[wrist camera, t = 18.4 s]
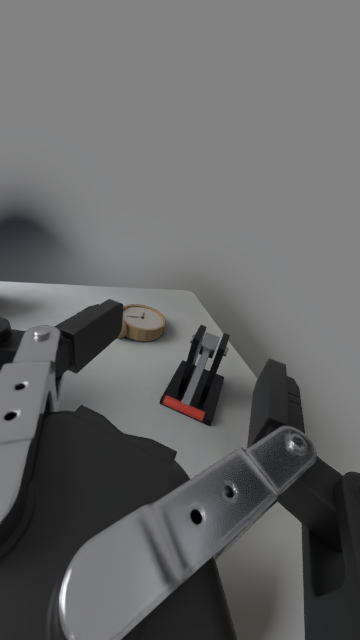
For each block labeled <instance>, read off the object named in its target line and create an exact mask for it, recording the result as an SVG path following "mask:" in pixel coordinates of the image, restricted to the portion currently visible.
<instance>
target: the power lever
mask: <svg viewBox="0 0 360 640" xmlns="http://www.w3.org/2000/svg"><path fill="white" fill-rule="evenodd" d="M219 338H220V337H218V336H215V335H212V334H210V333H206V335H205V337H204V340H203V342H202V344H201V348H200V352H199V354H201V357H200V359H199V362H198V364H197V366H196V369H195V371H194V373H193V376H192V378H191V381H190V383H189V385H188V388H187V390H186V392H185V395H184V397H183V400H182V402H181V401H179V400H177V399H174V398H172V397H170V396H168V395H166V397H165V399H164V401H163V404H164V405H166V406H169V407H171V408H173V409H175V410H178V411H180V412H182V413H184V414H186V415H189V416H191V417H193V418H195V419H198V420H200V421H202V420H203V418H204V415H205V412H204V411H202V410H199V409H197V408H195V407H192V406H190V403H191V400H192V398H193V395H194V393H195V390H196V388H197V385H198V383H199V380H200V377H201V375H202V372H203V370H204V367H205V365H206V362H207V360H208V357H209V358H212V357H213V354H214V352H215V349H216V346H217V343H218V341H219Z"/></svg>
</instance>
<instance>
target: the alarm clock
mask: <svg viewBox="0 0 360 640" xmlns="http://www.w3.org/2000/svg"><path fill="white" fill-rule="evenodd" d="M165 322H166V321H165V317H164V316H163V315H162V314H161V313H160V312H159V311H157V310H155V309H153V308H151V307H148V306H145V305H139V304H132V305H126V306H124V307H123V321H122V330H121V332H120V334H119V336H118V338H123V337H125V336H126V337H128V338H131V339H134V340H138V341H152V340H155V339H158V338H159V337H160V336H161V335H162V332H166V333H167V330H165V329H163V328H164V325H165Z"/></svg>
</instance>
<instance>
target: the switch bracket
mask: <svg viewBox="0 0 360 640" xmlns="http://www.w3.org/2000/svg"><path fill="white" fill-rule="evenodd" d="M205 330H206V327H205V326H203V325H201V326H200V327H199V329H198V331H197V333H196V334H195V335H193V336H192V338H191V342H190V343H192V344H191V348H190V352H189V355H188V359H187V362H185V361H183V360H182V362H181V364H180V366H179V367H178V369H177V371H176V373H175V374H174V376H173V378H172V380H171V381H170V383H169V385H168V387H167V389H166V390H165V392H164V394H163V396H162V397H161V400H160V404H162V405H164V404H163V401H164V399H165V397H166V395H168V396H170V397H172V398H174V399H177V400H179V401H181V402H182V400H183V397H184V395H185V392H186V390H187V388H188V385H189V383H190V381H191V378H192V376H193V373H194V371H195V369H196V366H195V362H196V359H197V356H198V353H199V349H200V346H201V343H202V340H203V337H204V333H205ZM228 339H229V335H228V334H225V333H224V334H223V337H222V340H221V342H220V345H219V348H218V350H217V353H216V356H215V359H214V361H213V364H212V367H211V370H210V371H208V370H205V369H204V370H203V372H202V375H201V377H200V380H199V383H198V385H197V388H196V390H195V393H194V395H193V398H192V400H191V403H190V406H192V407H195V408H197V409H199V410H202V411H204V412H205V415H204V418H203V420H202V421H200V420H198V419H195V418H193V417H191V416H189V415H186V414H184V413H182V412H180V411H178V410H175V409H173V408H171V407H169V406H166V405H164V406H166V407H169V408H171V409H173V410H175V411H177V412H180V413H182V414H184V415H186V416H189V417H191V418H193V419H195V420H197V421H200V422H202V423H204V424H206V425H208V426H210V425H211V423H212V420H213V416H214V412H215V409H216V405H217V402H218V398H219V394H220V391H221V387H222V384H223V380H224V377H223V376H220V375H218V374H216V372H217V370H218V367H219V364H220V362H221V359H222V357H223V356H226V354H227V352H228V349H229V348H227V347H226V345H227V342H228Z"/></svg>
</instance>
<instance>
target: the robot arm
mask: <svg viewBox="0 0 360 640" xmlns="http://www.w3.org/2000/svg"><path fill="white" fill-rule="evenodd" d="M122 321H123V304H122V303H119V302H116V301H113V300H111V299H108V300H107V301H105V302H103V303H102V304H100V305H99V304H97V305H93V306H90V307H87V308H86V309H84V310H82V311H81V312H79V313H77V314H76V315H74V316H72V317H70V318H69V319H67V320H65V321H63V322H62V323H60V324H58V325H57V326H55V327H53V326H48V325H42V326H36V327H33V328H31V329H29V330H27V331H19V330H13V329H11V327H10V323H9V321H8V320H7V319H5V318H0V640H237V636H236V633H235V629H234V625H233V622H232V619H231V615H230V611H229V608H228V604H227V600H226V597H225V593H224V590H223V586H222V583H221V579H220V576H219V572H218V568H217V565H216V560H217V559H218V558H219V557H220V556H221V555H222V554H223V553H224V552H225V551H226V550H227V549H228V548H230V547H231V546H232V545H233V544H234V543H235V542H236V541H237V540H238V539H239V538H240V537H241V536H242V535H243V534H244V533H245V532H246V531H247V530H248V529H249V528H250V527H251V526H252V525H253V524H254V523H255V522H256V521H257V520H258V519H259V518H261V517H262V516H263V515H264V514H265V513H266V512H267V511H268V510H269V509H270V508H271V507H272V506H273V505H274V504H275V503H276V502H277V501H278V502H279V503H280V504H281V505H282V506H283V507H284V508H286V509H287V510H288V511H289V512H290V513H291V514H293V515H294V516H295V517H296V518H297V519H298V520H299V521H300V522H302V550H303V583H304V584H303V586H304V621H305V640H360V473H356V472H348V473H346V474H345V475H344V476H342V475H341V474H340V473H339V472H337V471H336V470H334V469H333V468H332V467H330V466H329V465H328V464H326V463H325V462H324V461H322V460H321V459H320V458H319V457H318V456H317V452H316V449H315V447H314V445H313V443H312V442H311V440H310V439H309V438H308V437H307V436H306V435H305V430H304V422H303V415H302V407H301V399H300V391H299V387H298V385H297V384H296V382H295V380H294V379H293V378H290V377H288V376H287V375H286V365H285V364H283V363H280V362H277V361H275V360H272V359H268V361H267V363H266V365H265V367H264V369H263V371H262V372H261V374H260V376H259V378H258V380H257V382H256V385H255V388H254V392H253V400H252V409H251V418H250V427H249V435H248V444H247V449H246V450H244V449H243V448H239V449H237V450H235V451H234V452H232V453H231V454H229V455H228V456H226V457H224V458H223V459H221V460H220V461H218V462H217V463H215V464H214V465H212V466H210V467H209V468H207V469H206V470H204V471H203V472H201V473H200V474H198V475H196V476H195V477H193V478H192V479H190V478H189V477H188V475H187V474H186V472H185V471H184V470H183V469H182V467H181V466H180V465H179V464H178V463H177V462H176V461H174V459H175V456H176V453H177V451H175V450H173V449H171V448H168V447H166V446H164V445H162V444H160V443H158V442H156V441H154V440H152V439H148V438H143V437H138V436H133V435H128V434H124V433H122V432H121V431H120V430H118V429H117V428H116V427H115V426H114V425H113V424H112V423H111V422H110V421H109V420H107V419H106V418H105V417H104V416H103V415H101V414H99V413H97V412H95V411H93V410H91V409H89V408H87V407H85V406H83V405H81V406H80V407H79V408H78V409H77V410H76V411H75V412H73V411H60V402H61V395H62V388H63V381H64V372H66V371H67V370H70V371H72V372H74V373H76V374H77V373H78V372H79V371H80V370H81V369H82V368H83V367H84V366H86V365H87V364H88V363H89V362H90V361H91V360H92V359H94V358H95V357H96V356H97V355H98V354H99V353H100V352H101V351H103V350H104V349H105V348H106V347H107V346H108V345H109V344H110V343H112V342H113V341H114V340H115V339H116V338H117V337H118V336H119V334H120V332H121V330H122Z"/></svg>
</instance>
